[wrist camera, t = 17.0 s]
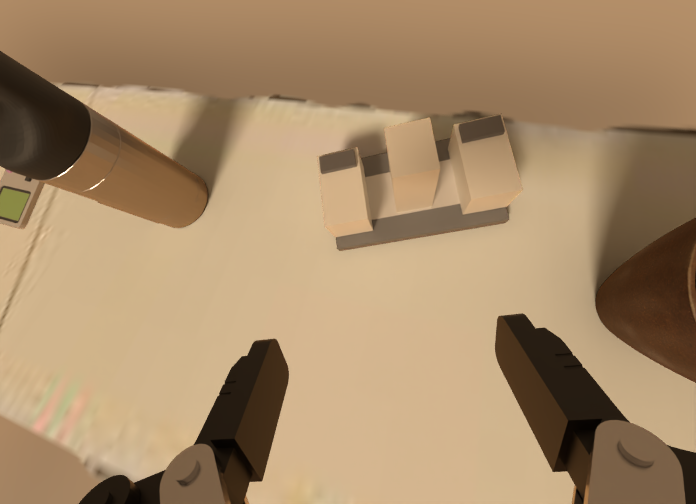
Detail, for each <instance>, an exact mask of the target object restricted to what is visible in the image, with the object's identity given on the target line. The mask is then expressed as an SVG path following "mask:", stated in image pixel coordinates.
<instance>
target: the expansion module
mask: <svg viewBox="0 0 696 504" xmlns="http://www.w3.org/2000/svg"><path fill="white" fill-rule="evenodd" d="M384 132H385V139H386V146H387V153H388V161H389V168H390V175H391V181H392V187H393V194H394V200H395V206H396V212H397V213H399V212H405V211H410V210H416V209H421V208H427V207H432V204H433V200H434V195H435V191H436V186H437V182H438V177H439V173H440V164H439V159H438V154H437V149H436V145H435V140H434V135H433V130H432V125H431V120H430V117H429V118H425V119H420V120H416V121H412V122H407V123H403V124H399V125H394V126H390V127H386V128H384Z"/></svg>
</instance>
